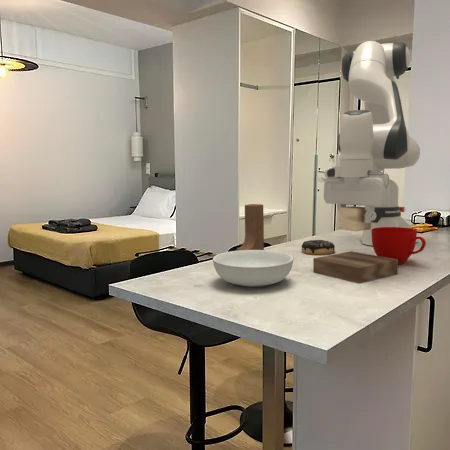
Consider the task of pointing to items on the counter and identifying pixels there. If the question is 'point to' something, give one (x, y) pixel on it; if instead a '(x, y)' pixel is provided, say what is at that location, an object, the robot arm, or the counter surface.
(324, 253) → the donut
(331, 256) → the plinth
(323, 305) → the counter surface
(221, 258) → the serving bowl
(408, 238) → the ceramic cup
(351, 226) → the beech cube
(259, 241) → the wooden block
